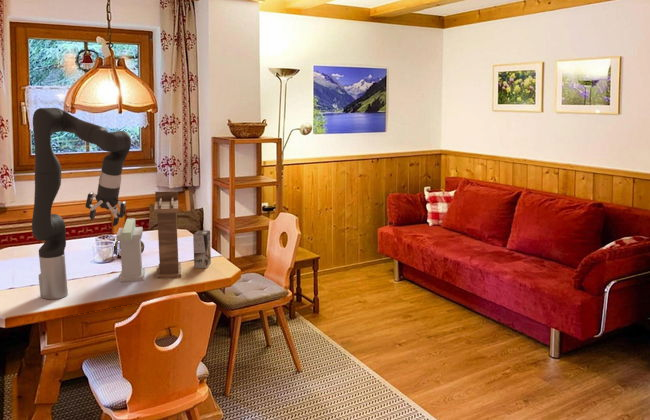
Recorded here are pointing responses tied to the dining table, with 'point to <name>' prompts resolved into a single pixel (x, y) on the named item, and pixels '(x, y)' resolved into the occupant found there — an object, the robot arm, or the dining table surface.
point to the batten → (128, 230)
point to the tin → (119, 240)
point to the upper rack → (167, 234)
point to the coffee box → (202, 249)
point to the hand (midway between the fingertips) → (103, 222)
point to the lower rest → (131, 256)
